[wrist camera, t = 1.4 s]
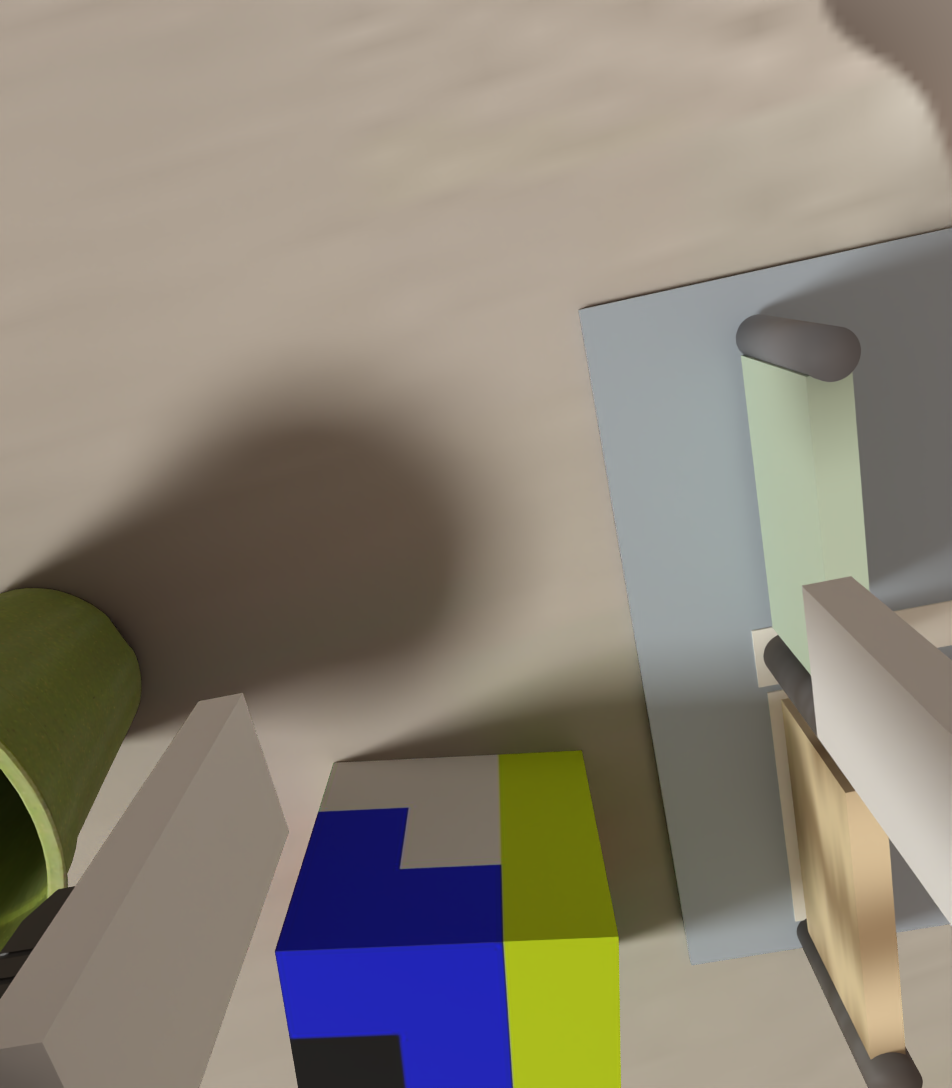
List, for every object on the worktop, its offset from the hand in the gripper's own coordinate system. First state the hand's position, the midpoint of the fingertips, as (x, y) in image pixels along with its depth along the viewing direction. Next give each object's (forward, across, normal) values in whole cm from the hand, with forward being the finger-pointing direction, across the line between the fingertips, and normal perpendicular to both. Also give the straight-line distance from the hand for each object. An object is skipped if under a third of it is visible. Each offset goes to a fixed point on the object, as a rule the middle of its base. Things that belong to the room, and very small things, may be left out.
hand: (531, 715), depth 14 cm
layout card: (+17, +12, -9) cm, 23 cm away
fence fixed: (+17, +9, -16) cm, 25 cm away
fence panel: (+16, +9, -2) cm, 19 cm away
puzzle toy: (+18, -5, -16) cm, 24 cm away
